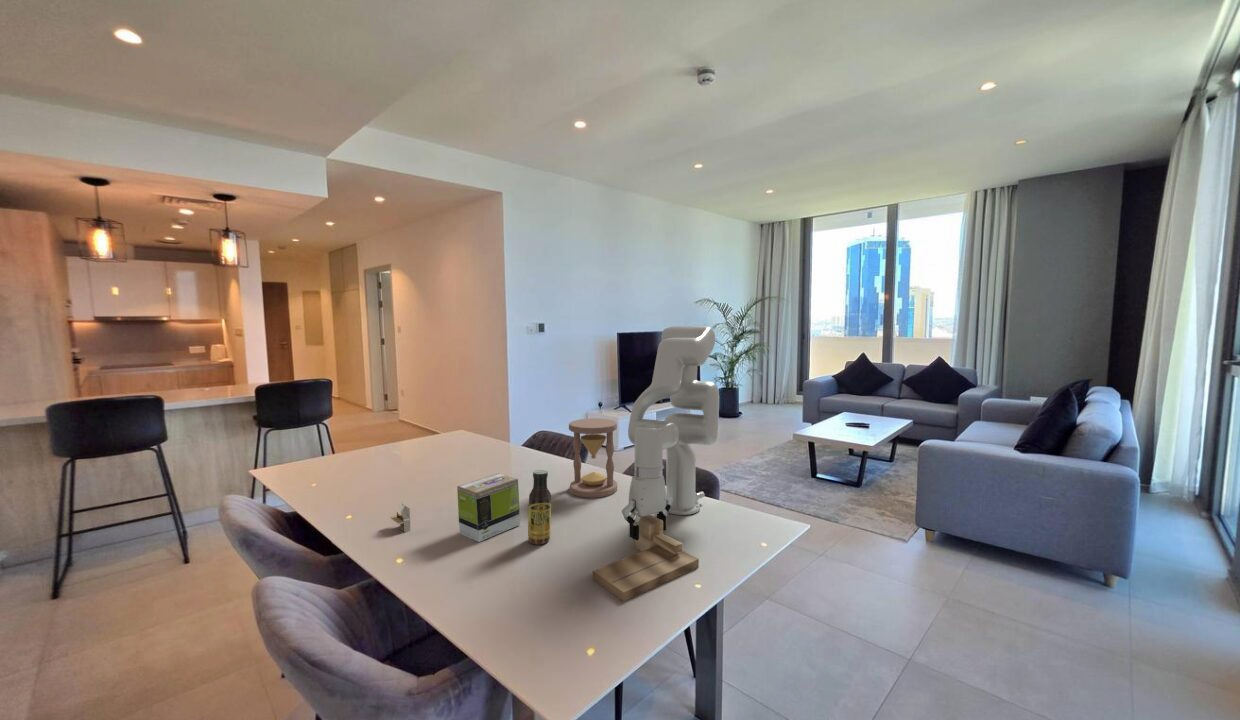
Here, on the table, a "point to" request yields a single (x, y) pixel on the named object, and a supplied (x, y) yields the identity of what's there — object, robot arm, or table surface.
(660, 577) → the board
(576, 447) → the hourglass
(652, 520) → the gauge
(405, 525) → the architectural model
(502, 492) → the tea box
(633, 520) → the robot arm
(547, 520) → the sauce bottle
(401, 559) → the table surface
